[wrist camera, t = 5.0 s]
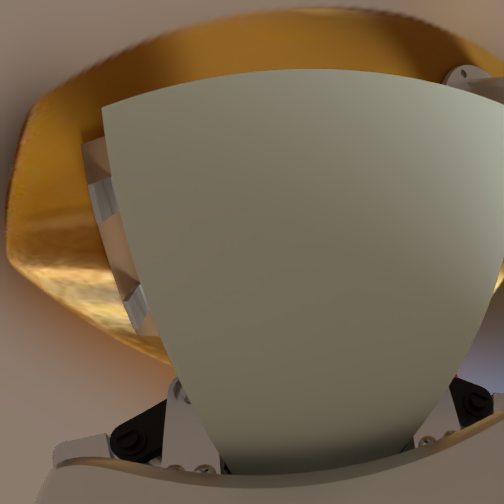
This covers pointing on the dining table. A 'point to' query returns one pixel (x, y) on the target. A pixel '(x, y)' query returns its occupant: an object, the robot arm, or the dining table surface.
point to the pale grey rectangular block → (311, 252)
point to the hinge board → (115, 236)
